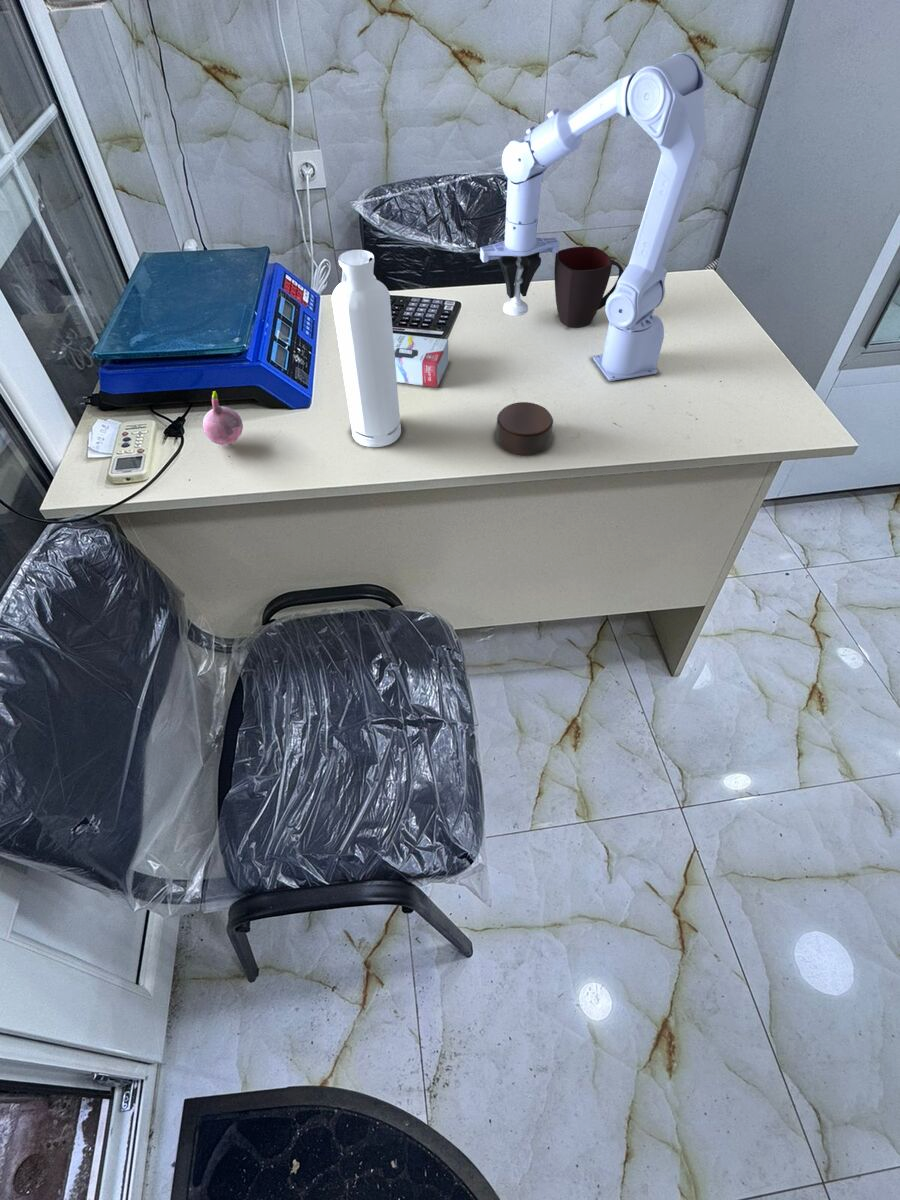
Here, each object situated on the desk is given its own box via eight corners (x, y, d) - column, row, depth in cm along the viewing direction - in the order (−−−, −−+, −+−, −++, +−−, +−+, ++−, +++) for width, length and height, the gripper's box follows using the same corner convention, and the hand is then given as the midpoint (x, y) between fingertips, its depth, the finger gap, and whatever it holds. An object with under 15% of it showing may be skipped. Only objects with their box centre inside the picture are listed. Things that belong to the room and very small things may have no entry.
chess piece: (531, 306, 127) (536, 253, 119) (522, 318, 124) (527, 264, 116) (508, 301, 128) (511, 248, 120) (499, 312, 125) (501, 259, 117)
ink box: (437, 364, 111) (372, 356, 112) (437, 389, 115) (374, 380, 116) (448, 338, 116) (386, 330, 118) (448, 362, 120) (388, 355, 121)
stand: (539, 417, 109) (542, 397, 106) (558, 450, 104) (561, 429, 101) (489, 426, 108) (490, 405, 105) (505, 459, 102) (507, 439, 99)
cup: (542, 311, 131) (549, 250, 122) (605, 302, 133) (616, 241, 124) (560, 336, 125) (568, 273, 116) (625, 326, 127) (639, 264, 118)
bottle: (406, 442, 105) (393, 266, 83) (357, 451, 104) (331, 275, 82) (394, 413, 110) (379, 240, 88) (348, 422, 109) (320, 248, 87)
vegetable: (234, 461, 103) (215, 407, 95) (202, 451, 104) (181, 398, 96) (255, 439, 106) (239, 385, 98) (225, 430, 108) (206, 376, 100)
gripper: (552, 204, 117) (545, 280, 127) (476, 214, 114) (474, 290, 125) (566, 220, 112) (557, 297, 123) (487, 230, 110) (485, 307, 121)
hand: (516, 294), depth 124 cm, fingers closed on chess piece
